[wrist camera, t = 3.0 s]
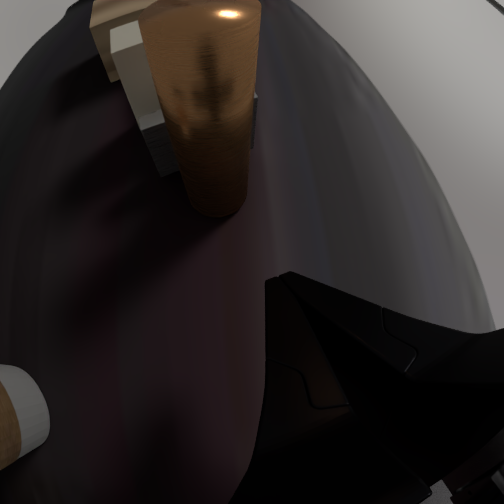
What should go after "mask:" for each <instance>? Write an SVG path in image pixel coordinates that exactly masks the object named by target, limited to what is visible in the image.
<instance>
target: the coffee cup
mask: <svg viewBox="0 0 504 504" xmlns="http://www.w3.org/2000/svg"><path fill="white" fill-rule="evenodd" d="M49 430H50V417H49V411H48V408H47V404H46V401H45V399H44V397H43V394H42V392H41V391H40V389H39V387H38V385H37V384H36V383H35V381H34V380H33V379H32V378H31V377H30V376H29V375H28V374H27V373H26V372H25V371H23V370H22V369H20V368H18V367H15V366H10V365H1V364H0V470H2V469H3V468H5V467H7V466H8V465H10V464H11V463H13V462H14V461H16V460H17V459H18V458H20V457H22V456H23V455H25V454H27V453H28V452H30V451H32V450H33V449H35V448H36V447H38V446H40V445H41V444H42V443H44V442H45V440H46V439H47V437H48V434H49Z"/></svg>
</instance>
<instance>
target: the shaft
mask: <svg viewBox="0 0 504 504" xmlns="http://www.w3.org/2000/svg"><path fill="white" fill-rule="evenodd" d="M260 18H261V4H260V2H259V1H258V0H158V1H156V2H154V3H152V4H151V5H149V6H148V7H147V8H145V9H144V10H143V11H142V13H141V14H140V16H139V18H138V24H139V29H140V33H141V37H142V41H143V45H144V48H145V52H146V56H147V60H148V64H149V67H150V71H151V75H152V79H153V82H154V86H155V89H156V93H157V96H158V100H159V104H160V107H161V109H160V110H157V111H154V112H151V113H148V114H145V115H143V116H140V117H138V119H139V124H140V129H141V132H142V135H143V137H144V139H145V142H146V144H147V147H148V149H149V151H150V154H151V156H152V158H153V161H154V163H155V165H156V167H157V170H158V172H159V174H160V177H163V176H165V175H168V174H171V173H174V172H177V171H180V173H181V176H182V179H183V182H184V185H185V188H186V191H187V194H188V197H189V200H190V203H191V205H192V206H193V207H194V209H195V210H196V211H198V212H199V213H200V214H202V215H205V216H207V217H213V218H220V217H225V216H228V215H231V214H233V213H234V212H236V211H237V210H238V209H239V208H240V207H241V206H242V205H243V203H244V202H245V199H246V196H247V187H248V172H249V158H250V149H253V146H254V135H255V124H256V113H257V102H258V96H257V95H256V93H255V79H256V66H257V54H258V42H259V30H260Z"/></svg>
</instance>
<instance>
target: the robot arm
mask: <svg viewBox="0 0 504 504" xmlns="http://www.w3.org/2000/svg"><path fill="white" fill-rule="evenodd" d="M265 352H266V361H265V389H264V397H263V404H262V410H261V416H260V421H259V426H258V432H257V437H256V442H255V447H254V451H253V455H252V459H251V462H250V465H249V467H248V470H247V472H246V473H245V475H244V477H243V479H242V481H241V482H240V484H239V486H238V488H237V489H236V491H235V493H234V495H233V496H232V498H231V500H230V502H229V503H228V504H419V503H421V502H422V501H424V500H425V499H427V498H428V497H429V496H431V495H432V491H431V489H430V486H432V485H433V484H435V483H436V482H438V481H439V480H441V479H442V480H443V482H444V483H445V485H446V486H447V488H448V489H449V491H450V492H451V493H452V495H453V496H451V497H450V499H451V501H452V502H453V504H504V328H503V329H499V330H496V331H492V332H488V333H482V334H474V333H467V332H462V331H458V330H455V329H451V328H447V327H444V326H440V325H436V324H432V323H429V322H425V321H422V320H419V319H415V318H412V317H409V316H406V315H403V314H400V313H398V312H395V311H392V310H390V309H387V308H385V307H383V308H382V307H381V306H379V305H377V304H374V303H371V302H369V301H366V300H364V299H361V298H359V297H356V296H353V295H351V294H348V293H346V292H343V291H341V290H338V289H336V288H333V287H330V286H328V285H325V284H323V283H320V282H318V281H315V280H313V279H310V278H307V277H305V276H302V275H300V274H297V273H295V272H292V271H289V272H286V273H284V274H281V275H279V277H273V278H270V279H268V280H266V281H265Z"/></svg>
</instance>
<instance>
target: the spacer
mask: <svg viewBox="0 0 504 504" xmlns="http://www.w3.org/2000/svg"><path fill="white" fill-rule="evenodd" d="M110 43H111V55H112V58H113V61H114V64H115V66H116V69H117V72H118V74H119V77H120V80H121V82H122V85H123V87H124V90H125V93H126V95H127V98H128V100H129V103H130V105H131V108H132V110H133V113H134V115H135V118H136V120H137V123H138V125H139V128H140V124H139V119H138V117H140V116H143V115H145V114H148V113H151V112H154V111H157V110H160V109H161V107H160V104H159V100H158V96H157V93H156V89H155V86H154V82H153V79H152V75H151V71H150V67H149V64H148V60H147V56H146V52H145V48H144V45H143V41H142V37H141V33H140V29H139V24H138V20H137V21H134V22H131V23H128V24H125V25H122V26H119V27H116V28H114V29H111V30H110ZM140 130H141V129H140ZM141 133H142V132H141ZM144 140H145V139H144Z"/></svg>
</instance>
